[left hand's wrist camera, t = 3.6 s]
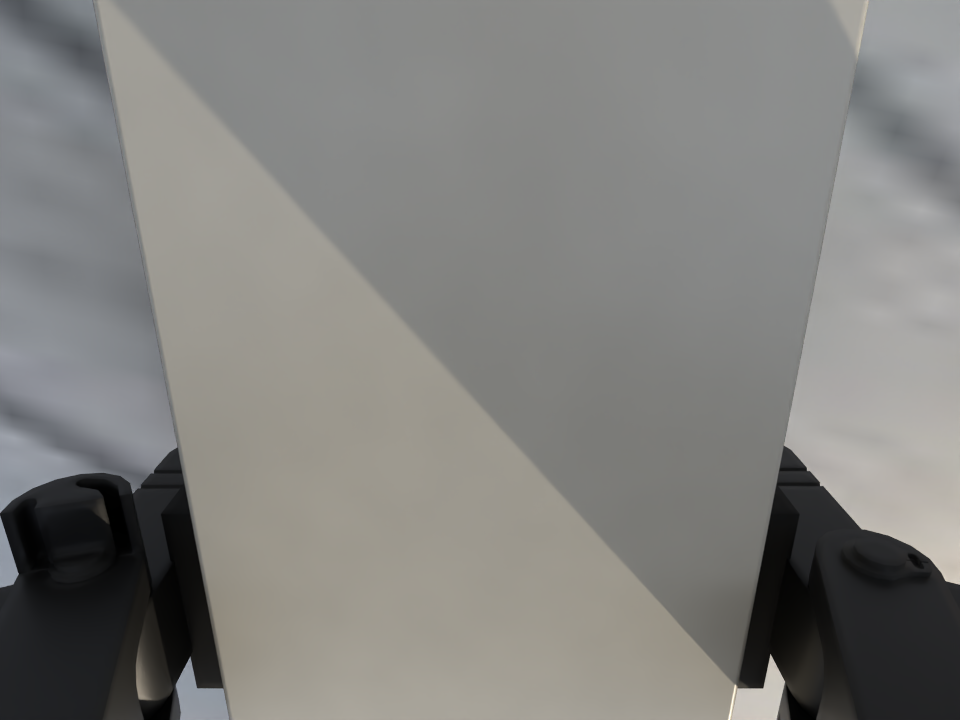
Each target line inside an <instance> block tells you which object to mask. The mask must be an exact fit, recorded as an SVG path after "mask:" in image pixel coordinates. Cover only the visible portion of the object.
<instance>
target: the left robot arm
mask: <svg viewBox="0 0 960 720" xmlns="http://www.w3.org/2000/svg"><path fill="white" fill-rule="evenodd" d="M0 516H1V519H2V522H3V525H4V529H5V532H6V535H7V538H8V541H9V544H10V548H11V551H12V554H13V557H14V560H15V563H16V567H17V570H18V573H19V575H18V577H17V579H16V581H15V583H14V585H10V586H6V587H2V588H0V720H180V714H181V712H180V705H179V698H178V694H177V689H176V683H177V681H178V679H179V677H180V675H181V673H182V671H183V669H184V667H185V665H186V663H187V662H188V660H189V658H190V656H191V661H192V666H193V670H194V675H195V680H196V685H197V688H223V683H222V678H221V672H220V667H219V662H218V656H217V651H216V646H215V641H214V635H213V630H212V625H211V620H210V614H209V609H208V604H207V599H206V593H205V588H204V583H203V578H202V572H201V567H200V562H199V557H198V551H197V546H196V541H195V536H194V530H193V525H192V520H191V515H190V509H189V504H188V499H187V494H186V488H185V483H184V478H183V473H182V467H181V462H180V457H179V451H178V448H176V449H174V450H173V451H171V452H170V453H169V454H168V455H167V456H166V457H165V458H164V459H163V460H162V462H161V463H160V464H159V465H158V466H157V467H156V468H155V470H154V474H150V475H149V476H148V478H147V479H146V480H145V481H144V482H143V483H142V484H141V489H137V490H136V491H135V492H134V493H133V494H132V490H131V485H130V483H129V482H128V481H126V480H125V479H123V478H122V477H121V476H117V475H111V474H106V473H93V474H79V475H75V476H70V477H66V478H61V479H57V480H54V481H51V482H49V483H46V484H43V485H41V486H38V487H36V488H33V489H31V490H29V491H28V492H26V493H24V494H23V495H21V496H19V497H18V498H16V499H14V500H13V501H12V502H11V503H10V504H9V505H8V506H7V507H6V508H5V509H4V510H3V511H2V512H1V513H0ZM770 654H771V655H772V657H773V659H774V661H775V663H776V665H777V667H778V669H779V671H780V673H781V675H782V676H783V678H784V680H785V685H784V689H783V694H782V698H781V703H780V707H779V711H778V716H777V720H960V585H958V584H954V583H950V582H946V581H945V579H944V577H943V575H942V573H941V572H940V571H939V570H938V569H937V567H936V566H935V565H934V564H933V562H932V561H931V560H930V559H929V558H928V557H926V556H925V555H923V554H922V553H921V552H919V551H918V550H916V549H915V548H913V547H912V546H910V545H908V544H906V543H903V542H901V541H899V540H897V539H894V538H892V537H890V536H887V535H883V534H879V533H876V532H872V531H868V530H862V529H861V528H860V527H859V526H858V525H857V524H856V523H855V522H854V520H853V519H852V518H851V517H850V516H849V515H848V514H847V513H846V511H845V510H844V509H843V508H842V507H841V506H840V505H839V504H838V502H837V501H836V500H835V499H834V498H833V497H832V496H831V495H830V493H829V492H828V491H827V490H826V489H825V488H824V487H823V486H820V482H819V481H818V480H817V479H816V478H815V476H814V475H813V474H812V473H811V472H810V471H807V467H806V466H805V465H804V464H803V463H802V462H801V461H800V460H799V458H798V457H797V456H796V455H795V454H794V453H793V452H792V451H791V450H790V449H788V448H787V447H785V446H784V447H783V452H782V457H781V463H780V468H779V473H778V478H777V483H776V489H775V494H774V499H773V504H772V510H771V515H770V520H769V525H768V530H767V536H766V541H765V546H764V551H763V557H762V562H761V567H760V572H759V578H758V583H757V588H756V593H755V598H754V604H753V609H752V614H751V619H750V625H749V630H748V635H747V640H746V645H745V651H744V656H743V661H742V666H741V672H740V677H739V682H738V687H737V688H763V687H764V682H765V677H766V673H767V668H768V663H769V658H770Z"/></svg>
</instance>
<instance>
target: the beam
mask: <svg viewBox="0 0 960 720" xmlns="http://www.w3.org/2000/svg"><path fill="white" fill-rule="evenodd" d="M868 3H869V0H93V5H94V10H95V15H96V20H97V26H98V31H99V36H100V42H101V47H102V52H103V57H104V63H105V68H106V73H107V78H108V84H109V89H110V94H111V99H112V105H113V110H114V115H115V120H116V126H117V131H118V136H119V141H120V147H121V152H122V157H123V162H124V168H125V173H126V178H127V183H128V189H129V194H130V199H131V204H132V210H133V215H134V220H135V225H136V231H137V236H138V241H139V247H140V252H141V257H142V262H143V268H144V273H145V278H146V283H147V289H148V294H149V299H150V304H151V310H152V315H153V320H154V325H155V331H156V336H157V341H158V346H159V352H160V357H161V362H162V367H163V373H164V378H165V383H166V388H167V394H168V399H169V404H170V409H171V415H172V420H173V425H174V430H175V436H176V441H177V446H178V451H179V457H180V462H181V467H182V473H183V478H184V483H185V488H186V494H187V499H188V504H189V509H190V515H191V520H192V525H193V530H194V536H195V541H196V546H197V551H198V557H199V562H200V567H201V572H202V578H203V583H204V588H205V593H206V599H207V604H208V609H209V614H210V620H211V625H212V630H213V635H214V641H215V646H216V651H217V656H218V662H219V667H220V672H221V678H222V683H223V688H224V693H225V699H226V704H227V709H228V714H229V720H731V719H732V713H733V708H734V703H735V698H736V692H737V687H738V682H739V677H740V672H741V666H742V661H743V656H744V651H745V645H746V640H747V635H748V630H749V625H750V619H751V614H752V609H753V604H754V598H755V593H756V588H757V583H758V578H759V572H760V567H761V562H762V557H763V551H764V546H765V541H766V536H767V530H768V525H769V520H770V515H771V510H772V504H773V499H774V494H775V489H776V483H777V478H778V473H779V468H780V463H781V457H782V452H783V447H784V442H785V436H786V431H787V426H788V421H789V416H790V410H791V405H792V400H793V395H794V389H795V384H796V379H797V374H798V369H799V363H800V358H801V353H802V348H803V342H804V337H805V332H806V327H807V321H808V316H809V311H810V306H811V301H812V295H813V290H814V285H815V280H816V274H817V269H818V264H819V259H820V254H821V248H822V243H823V238H824V233H825V227H826V222H827V217H828V212H829V207H830V201H831V196H832V191H833V186H834V180H835V175H836V170H837V165H838V159H839V154H840V149H841V144H842V139H843V133H844V128H845V123H846V118H847V112H848V107H849V102H850V97H851V92H852V86H853V81H854V76H855V71H856V65H857V60H858V55H859V50H860V45H861V39H862V34H863V29H864V24H865V18H866V13H867V8H868Z"/></svg>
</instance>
